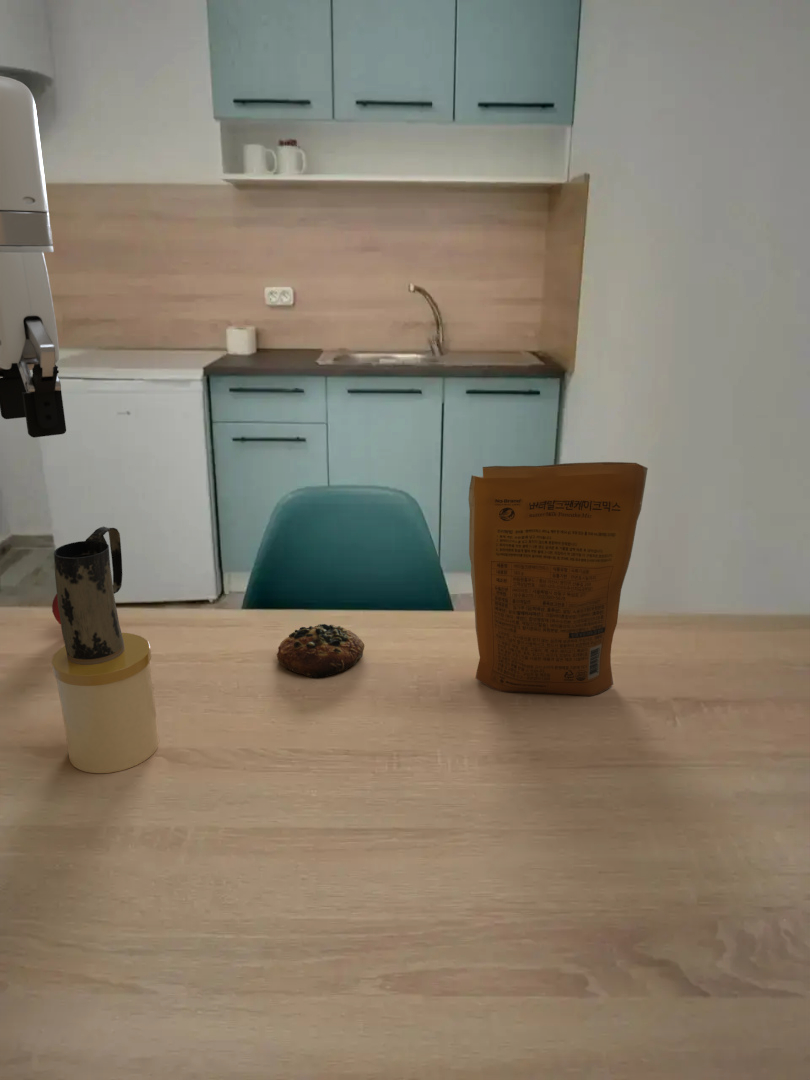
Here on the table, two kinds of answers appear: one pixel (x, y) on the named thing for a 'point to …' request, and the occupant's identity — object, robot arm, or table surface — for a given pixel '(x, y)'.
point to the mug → (90, 597)
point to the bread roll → (320, 650)
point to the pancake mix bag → (551, 572)
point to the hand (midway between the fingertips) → (32, 425)
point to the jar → (108, 708)
